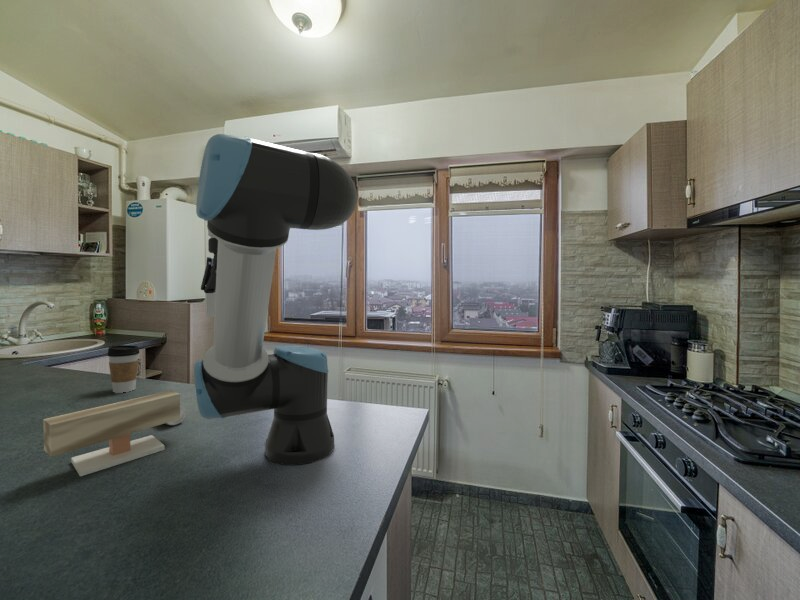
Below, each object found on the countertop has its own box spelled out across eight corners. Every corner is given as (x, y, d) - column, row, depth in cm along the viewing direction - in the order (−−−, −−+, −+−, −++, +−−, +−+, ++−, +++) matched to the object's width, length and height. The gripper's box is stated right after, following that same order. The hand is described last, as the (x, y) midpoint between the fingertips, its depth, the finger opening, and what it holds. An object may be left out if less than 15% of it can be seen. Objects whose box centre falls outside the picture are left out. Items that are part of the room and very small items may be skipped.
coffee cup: (115, 387, 119) (114, 344, 118) (144, 386, 121) (143, 343, 121) (102, 395, 111) (101, 349, 110) (133, 393, 113) (133, 348, 113)
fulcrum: (164, 449, 77) (164, 427, 77) (80, 476, 66) (79, 450, 66) (152, 439, 82) (151, 418, 82) (71, 462, 71) (71, 438, 71)
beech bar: (180, 418, 82) (179, 393, 82) (51, 457, 63) (50, 424, 63) (170, 414, 84) (170, 390, 84) (44, 450, 66) (43, 419, 65)
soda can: (169, 403, 88) (151, 394, 95) (160, 424, 87) (142, 413, 94) (189, 406, 92) (170, 397, 99) (181, 426, 91) (162, 416, 98)
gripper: (265, 237, 88) (265, 320, 89) (214, 242, 102) (214, 314, 103) (237, 233, 82) (237, 323, 83) (186, 239, 96) (187, 315, 97)
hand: (224, 318), depth 93 cm, fingers open, 13 cm apart
